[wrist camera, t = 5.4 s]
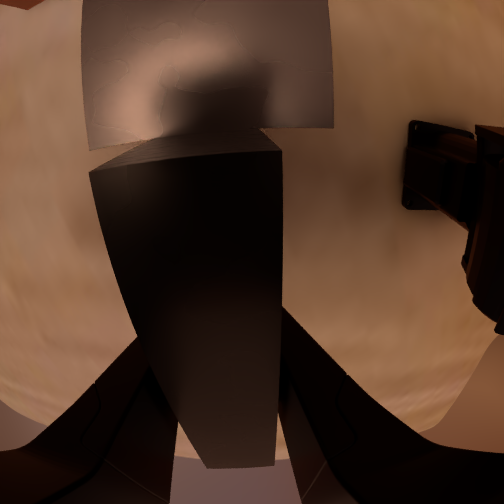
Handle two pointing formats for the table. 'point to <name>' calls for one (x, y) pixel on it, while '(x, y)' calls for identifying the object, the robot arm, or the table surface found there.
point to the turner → (204, 193)
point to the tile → (21, 3)
